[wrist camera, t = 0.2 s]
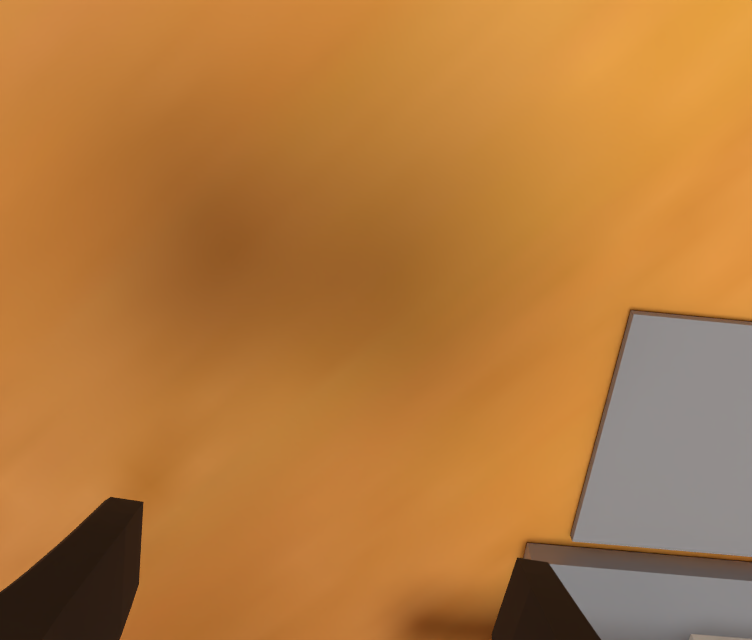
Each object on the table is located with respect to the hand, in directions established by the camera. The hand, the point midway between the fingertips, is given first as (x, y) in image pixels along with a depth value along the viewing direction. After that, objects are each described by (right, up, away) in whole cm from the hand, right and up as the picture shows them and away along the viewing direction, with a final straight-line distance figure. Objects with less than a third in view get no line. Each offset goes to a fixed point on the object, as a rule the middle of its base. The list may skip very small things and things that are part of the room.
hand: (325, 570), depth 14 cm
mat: (+13, +1, +11) cm, 17 cm away
